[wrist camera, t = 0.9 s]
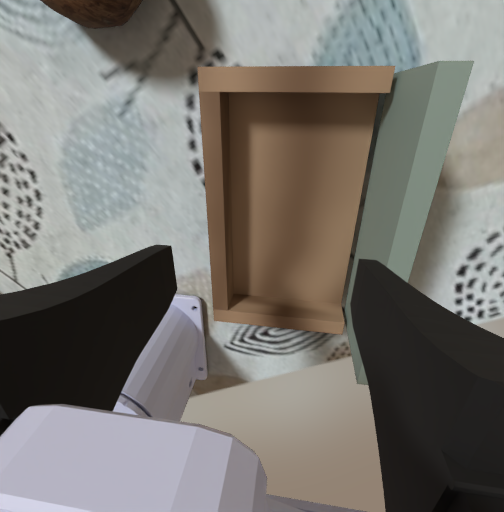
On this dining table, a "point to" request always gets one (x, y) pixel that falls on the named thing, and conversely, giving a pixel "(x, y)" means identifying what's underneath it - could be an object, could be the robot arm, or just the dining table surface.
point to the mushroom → (95, 11)
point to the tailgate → (406, 171)
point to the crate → (285, 187)
